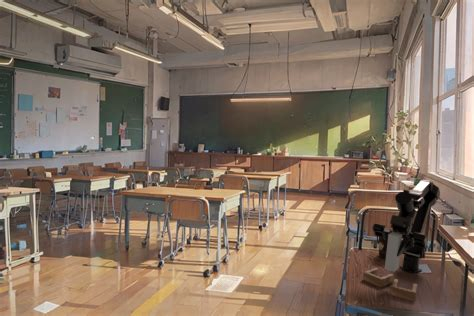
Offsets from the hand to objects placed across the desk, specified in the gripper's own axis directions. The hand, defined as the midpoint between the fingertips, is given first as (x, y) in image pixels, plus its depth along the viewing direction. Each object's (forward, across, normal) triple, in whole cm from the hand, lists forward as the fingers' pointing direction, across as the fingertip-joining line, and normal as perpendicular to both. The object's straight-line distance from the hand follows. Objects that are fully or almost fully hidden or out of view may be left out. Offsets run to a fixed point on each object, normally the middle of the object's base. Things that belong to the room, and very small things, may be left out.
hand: (391, 254), depth 141 cm
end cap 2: (+10, +6, +9) cm, 15 cm away
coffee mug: (-16, -13, +35) cm, 41 cm away
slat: (+3, 0, +5) cm, 6 cm away
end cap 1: (+7, -5, +12) cm, 15 cm away
